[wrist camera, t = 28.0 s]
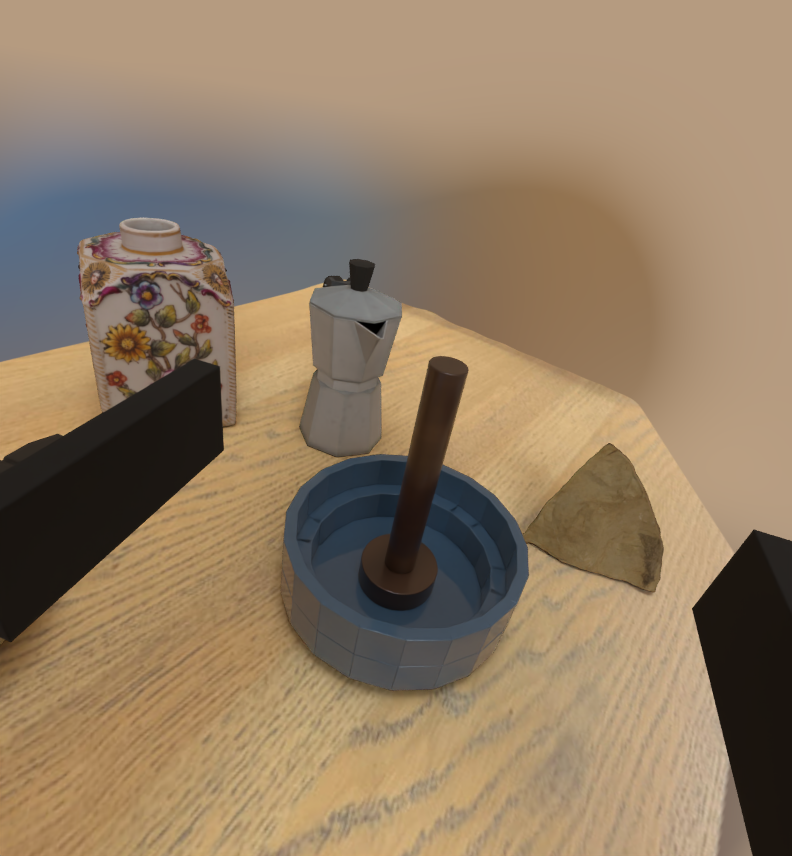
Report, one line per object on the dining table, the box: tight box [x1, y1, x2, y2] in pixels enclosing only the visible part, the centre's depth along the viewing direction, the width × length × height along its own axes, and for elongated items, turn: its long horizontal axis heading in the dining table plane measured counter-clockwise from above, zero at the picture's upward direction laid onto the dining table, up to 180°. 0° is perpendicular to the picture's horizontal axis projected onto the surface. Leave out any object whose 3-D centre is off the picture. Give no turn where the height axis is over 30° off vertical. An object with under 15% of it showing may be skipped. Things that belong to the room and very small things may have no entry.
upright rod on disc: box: [358, 356, 468, 611], centre depth 32 cm, size 6×6×18 cm
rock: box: [523, 443, 664, 592], centre depth 41 cm, size 11×9×10 cm
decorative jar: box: [77, 218, 236, 426], centre depth 47 cm, size 12×12×18 cm
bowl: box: [281, 454, 529, 691], centre depth 35 cm, size 17×17×6 cm
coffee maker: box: [299, 259, 402, 457], centre depth 48 cm, size 15×9×18 cm, turn 23°
